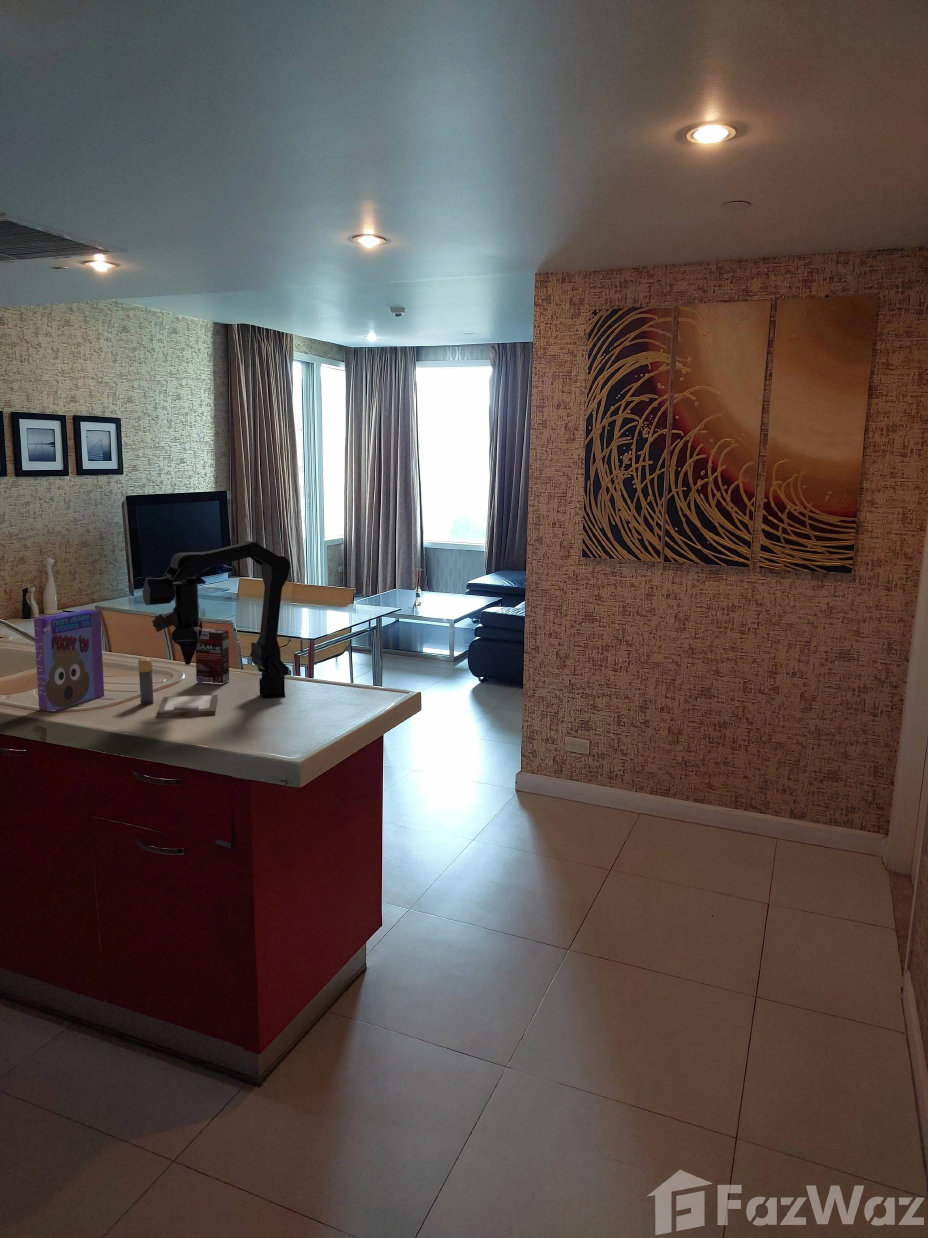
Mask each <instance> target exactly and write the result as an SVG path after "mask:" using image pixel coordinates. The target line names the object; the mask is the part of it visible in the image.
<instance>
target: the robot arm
mask: <svg viewBox="0 0 928 1238" xmlns="http://www.w3.org/2000/svg"><path fill="white" fill-rule="evenodd" d="M247 558H250V560H252V561H253V562H254V563H255V564H257V565H259V566H260V575H261V579H262V582H263V585H264V590H263V600H262V611H261V620H260V621H261V622H260V630H259V631H260V633H259V637H258V639H257V640H256V642H251V644H250V647H251V649H250V650H251V652H250V654H249V657H251V662H252V663H253V664H254V666H256V667H257V670H258V672H259V673H261V677H259V695H261V696H260V697H261V698H263V699H264V698H284V697H286V691H285V690H286V687H285V685H286V683H285V681H286V680H285V676H288V674H289V672H290V671H289V670H290V668H289V666H287V665H286V664H285V663H284V662H283V661H282V660H281V659H282V656H281V648H280V644H279V641H278V634H279V633H278V632H279V620H280V614H281V613H280V611H281V603H282V590H283V587H284V586H285V584H286V582H287V581H288V578H289V574H290V571H291V562H290V561H289V559H288V558H287V557H285V556H283V555H280V554H279V555H278V554H276V553H275V552H273V551H270V549H267V548H265V547H263V546H262V545H261V544H259V542H256V541H252V540H251V541H250V540H247V541H244V542H242V543H238V544H234V545H229V546H226V547H225V546H224V547H221V548H217V549H216V548H215V549H211V550H207V551H199V552H198V551H193V552H192V551H189V552H187V551H186V552H178V553H176V554H174V555H173V556H172V557H171V560H170V565H169V567H168V568H167V570H166V571H165V572H164V574H163V576H162V577H155V578H153V577H145V578H144V584H143V588H142V591H141V593H142V594H141V595H142V600H143V603H144V604H145V605H146V606H155V605H165V604H171V603H172V601H174V603H175V605H174V607H173V610H172V611H170V612H167V613H164V614H163V613H160V614H158V615H155V617H153V619H152V620H151V623H152V626H153V628H154V629H155V631H156V632H158V633H159V632H161V631H163V630H165V629H167V628H169V627H172V626H173V628H174V629H173V630H172V632H171V641H173V643H175V644H176V645H178V646H179V648H180V650H181V653H182V657H183V661H184V664H185V665H187V666H189V665H190V664H191V662H192V659H193V658H194V656H195V654H196V647H197V644H198V642H199V639H200V636H201V633H202V630H203V629H204V619H202V618H201V617H200V603H199V586H198V585H206V583H207V581H206V580H205V579H203V578H202V577H201V575H200V574H201V573H204V572H205V571H207V570H208V569H210V568H212V567H214V566H219V565H223V564H224V565H225V564H227V563H231V562H236V561H239V560H243V559H247Z"/></svg>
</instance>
